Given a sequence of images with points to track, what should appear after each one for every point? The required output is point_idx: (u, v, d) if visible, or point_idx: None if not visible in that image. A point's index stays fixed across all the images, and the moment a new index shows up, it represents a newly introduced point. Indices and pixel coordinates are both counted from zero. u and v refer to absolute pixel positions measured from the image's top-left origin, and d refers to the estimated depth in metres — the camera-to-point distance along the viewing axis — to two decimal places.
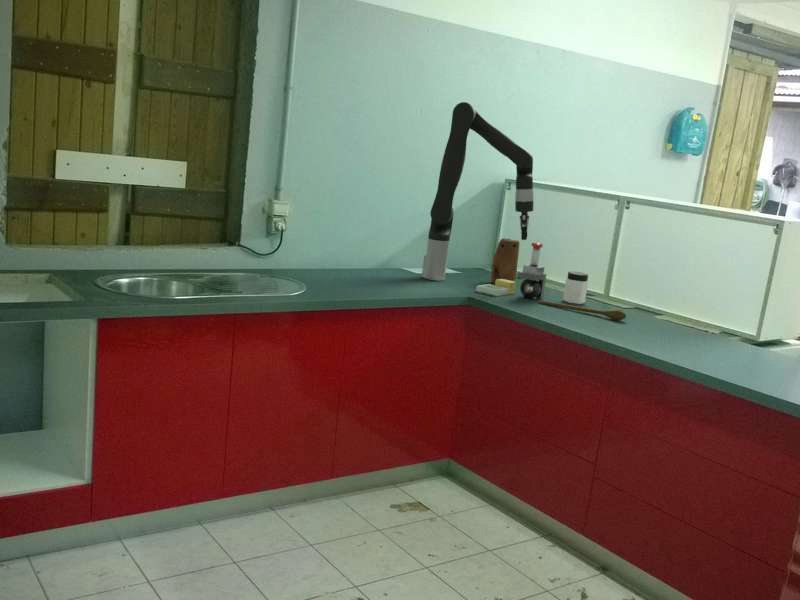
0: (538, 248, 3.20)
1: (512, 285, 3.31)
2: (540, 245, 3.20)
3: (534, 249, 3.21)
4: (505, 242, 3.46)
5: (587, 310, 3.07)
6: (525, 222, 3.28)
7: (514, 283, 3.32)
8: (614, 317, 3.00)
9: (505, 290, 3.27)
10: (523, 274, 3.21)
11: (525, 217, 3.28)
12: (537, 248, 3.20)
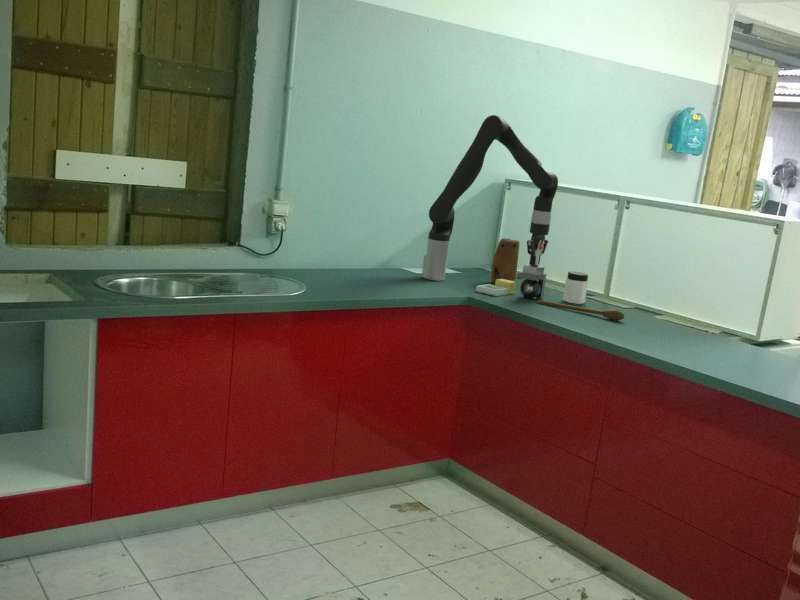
0: None
1: (512, 285, 3.31)
2: (540, 245, 3.20)
3: None
4: (505, 242, 3.46)
5: (585, 310, 3.06)
6: (531, 248, 3.17)
7: (514, 283, 3.32)
8: (612, 317, 2.99)
9: (505, 290, 3.27)
10: (523, 274, 3.21)
11: (530, 243, 3.16)
12: None
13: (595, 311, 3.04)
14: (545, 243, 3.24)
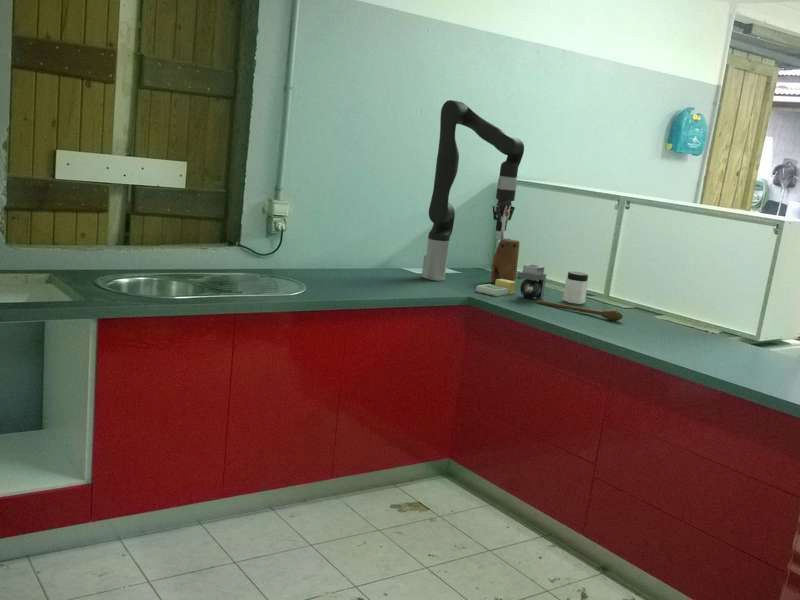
0: None
1: (512, 285, 3.31)
2: (506, 211, 3.20)
3: None
4: (505, 242, 3.46)
5: (584, 310, 3.06)
6: (497, 214, 3.17)
7: (514, 283, 3.32)
8: (610, 317, 2.98)
9: (505, 290, 3.27)
10: (523, 274, 3.21)
11: (496, 209, 3.16)
12: None
13: (593, 311, 3.03)
14: (512, 209, 3.25)
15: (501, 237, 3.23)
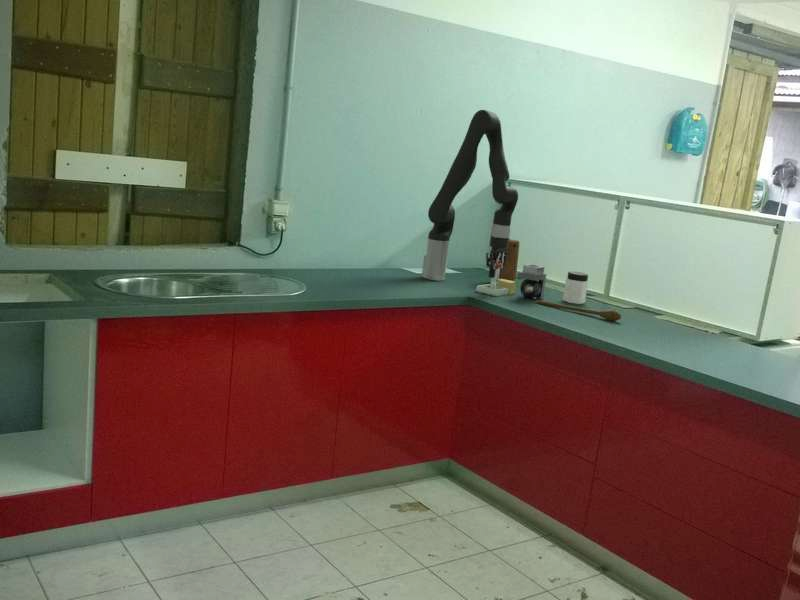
0: (498, 267, 3.25)
1: (512, 285, 3.31)
2: (500, 264, 3.25)
3: None
4: None
5: (583, 310, 3.05)
6: (490, 261, 3.21)
7: (514, 283, 3.32)
8: (609, 317, 2.98)
9: (505, 290, 3.27)
10: (523, 274, 3.21)
11: (490, 256, 3.20)
12: (497, 267, 3.25)
13: (592, 311, 3.03)
14: (505, 256, 3.29)
15: (495, 289, 3.27)
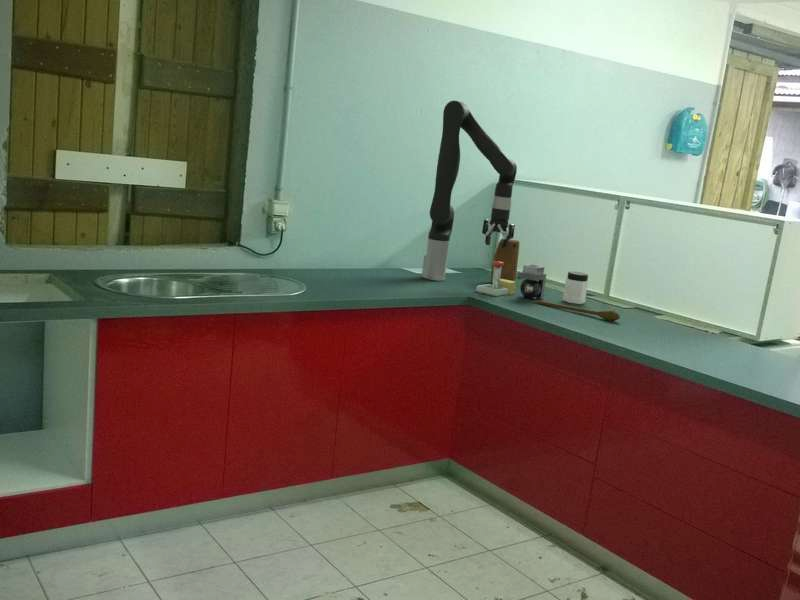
0: (499, 266, 3.27)
1: (513, 285, 3.31)
2: (501, 263, 3.26)
3: (495, 267, 3.27)
4: None
5: (581, 310, 3.05)
6: None
7: (514, 283, 3.32)
8: (607, 317, 2.97)
9: (505, 290, 3.27)
10: (523, 274, 3.21)
11: None
12: (498, 266, 3.27)
13: (591, 311, 3.03)
14: (508, 228, 3.29)
15: (496, 289, 3.29)
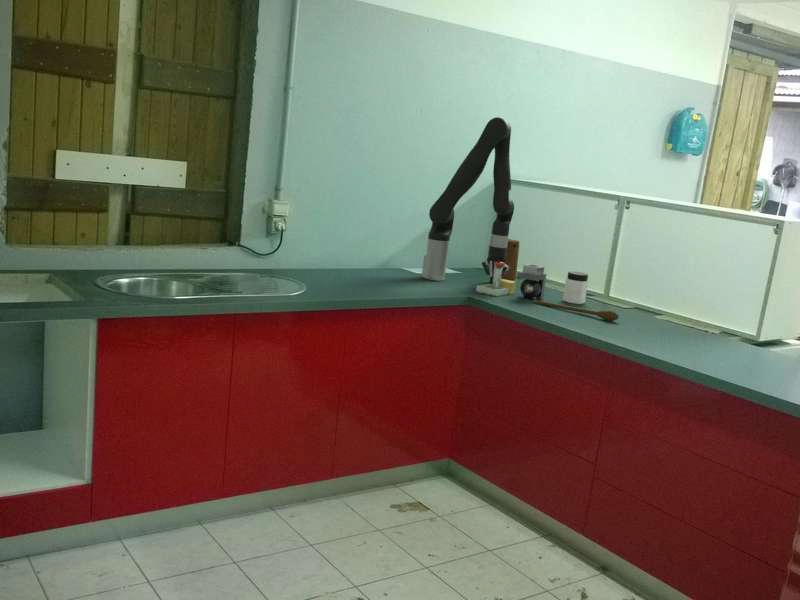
0: (500, 267, 3.27)
1: (513, 285, 3.31)
2: (502, 264, 3.26)
3: (496, 268, 3.27)
4: None
5: (580, 310, 3.05)
6: None
7: (514, 283, 3.32)
8: (606, 317, 2.97)
9: (505, 290, 3.27)
10: (523, 274, 3.21)
11: None
12: (499, 267, 3.27)
13: (590, 311, 3.02)
14: (502, 268, 3.32)
15: (497, 289, 3.29)
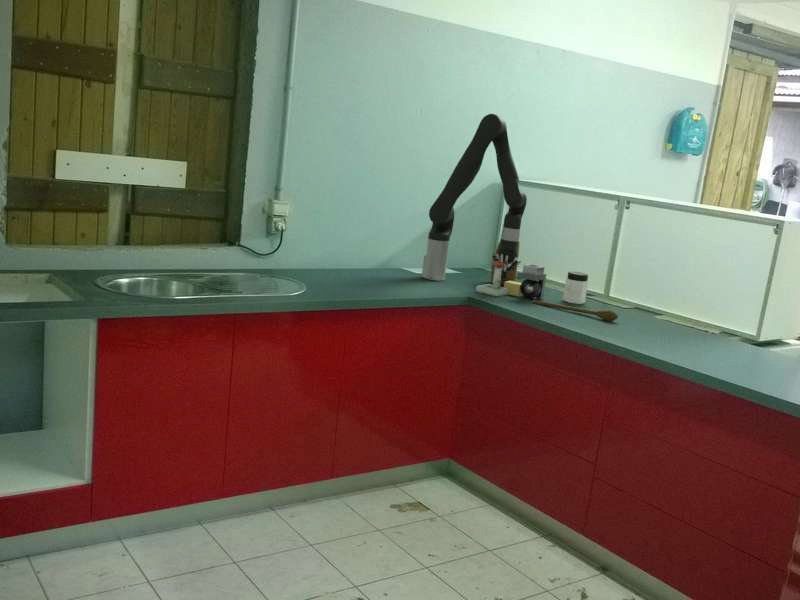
0: (500, 267, 3.27)
1: None
2: (502, 264, 3.26)
3: (496, 268, 3.27)
4: None
5: (579, 310, 3.04)
6: None
7: None
8: (605, 317, 2.97)
9: (505, 290, 3.27)
10: (523, 274, 3.21)
11: None
12: (499, 267, 3.27)
13: (589, 311, 3.02)
14: (513, 262, 3.29)
15: (497, 289, 3.29)
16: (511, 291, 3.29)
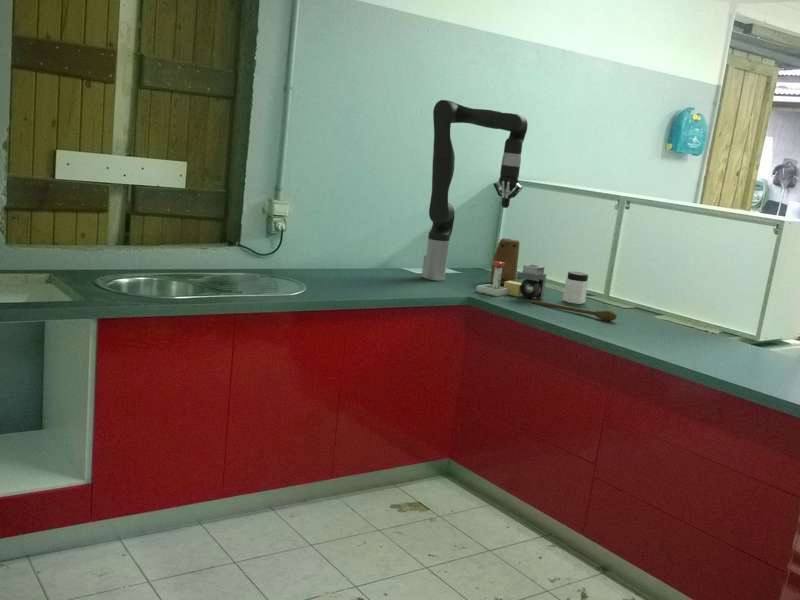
0: (500, 267, 3.27)
1: None
2: (502, 264, 3.26)
3: (496, 268, 3.27)
4: (505, 242, 3.46)
5: (578, 310, 3.04)
6: None
7: None
8: (604, 317, 2.97)
9: (505, 290, 3.27)
10: (523, 274, 3.21)
11: None
12: (499, 267, 3.27)
13: (587, 311, 3.02)
14: (515, 188, 3.21)
15: (497, 289, 3.29)
16: (511, 291, 3.29)
